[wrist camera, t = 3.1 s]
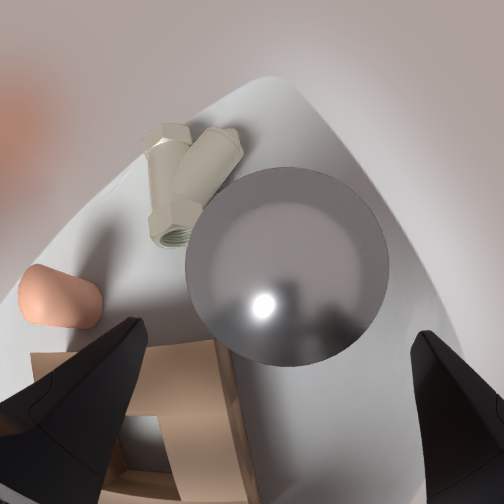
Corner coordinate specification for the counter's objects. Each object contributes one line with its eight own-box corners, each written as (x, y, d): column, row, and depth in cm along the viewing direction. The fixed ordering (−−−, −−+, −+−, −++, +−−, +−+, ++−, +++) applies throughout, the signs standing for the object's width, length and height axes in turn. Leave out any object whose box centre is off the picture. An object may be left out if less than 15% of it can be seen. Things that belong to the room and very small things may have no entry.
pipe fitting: (236, 139, 22) (154, 159, 21) (233, 105, 18) (138, 129, 18) (261, 230, 20) (164, 253, 19) (263, 205, 16) (144, 233, 15)
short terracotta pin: (105, 327, 18) (54, 321, 13) (69, 330, 18) (18, 325, 13) (101, 277, 19) (53, 259, 14) (66, 284, 19) (18, 269, 14)
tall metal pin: (316, 334, 17) (408, 337, 4) (257, 345, 17) (201, 381, 4) (304, 277, 18) (356, 155, 5) (247, 288, 18) (177, 188, 5)
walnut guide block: (263, 509, 14) (259, 542, 10) (103, 499, 14) (78, 518, 10) (227, 337, 17) (213, 338, 13) (65, 352, 18) (30, 352, 14)
